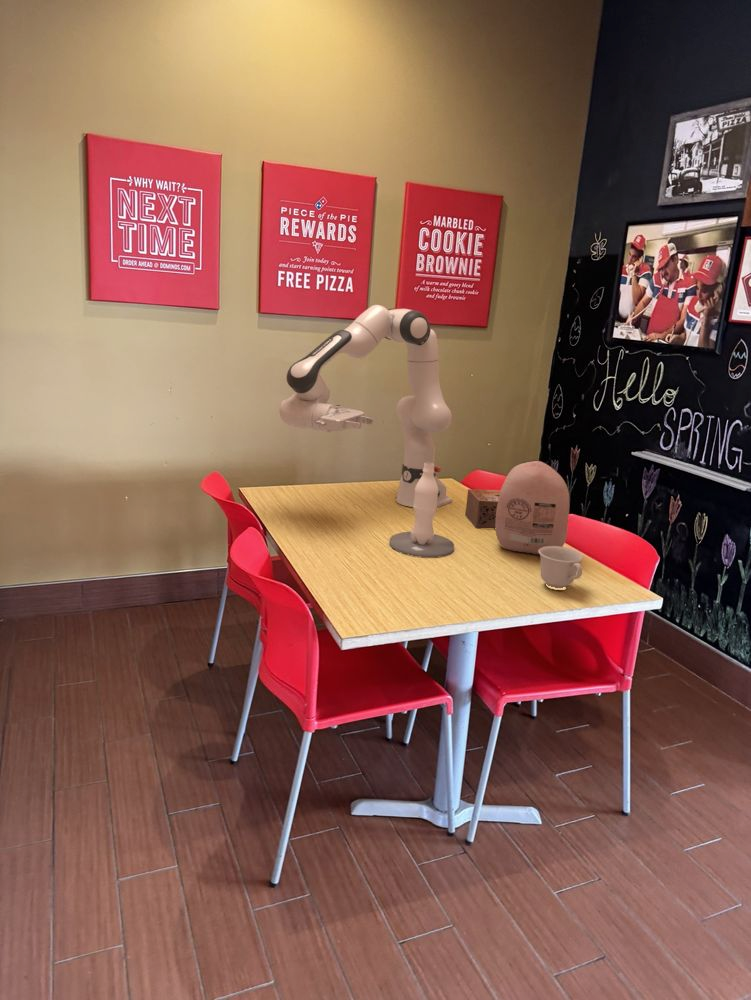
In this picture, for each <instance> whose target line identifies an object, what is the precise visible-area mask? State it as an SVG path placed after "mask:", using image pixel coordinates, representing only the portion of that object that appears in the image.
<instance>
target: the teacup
mask: <svg viewBox="0 0 751 1000" xmlns="http://www.w3.org/2000/svg"><path fill="white" fill-rule="evenodd" d="M538 552H539V553H540V555H539V556H540V557H539V558H540V568H539V569H540V570H539V571H540V577H541V579H542V581H543V582H545V584H547V585H548V586H551V587H555V588H563V587H566V588H567V587H568V586H569V585H572V583H573V582H574V581H575V580H578V579H579V578H580V577H582V575H583V567H582V565H581V561H583V560H584V555H583V554H581V552H579V551H577V550H575V549H572V548H570V547H565V546H563V547H560V546H545V547H542V548H540V549H539V550H538Z"/></svg>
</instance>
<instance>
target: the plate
mask: <svg viewBox="0 0 751 1000" xmlns="http://www.w3.org/2000/svg"><path fill="white" fill-rule="evenodd" d="M388 544H389V546H390V548H391V547H392V548H391V549H393V548H394V549H395V550H394V549H393V550H394V551H396V550H397V551H396V552H398V551H399V552H398V553H400V552H402V553H401V554H403V553H405V554H404V555H406V554H409V555H408V556H410V555H413V556H412V557H415V556H421V557H420V558H425V557H435V558H439V557H438V556H443V557H445V556H444V555H447V556H449V555H451V554H452V553H454V551H453V550H454V549H455V544H454V542H453V541H452V540H451V539H449V538H448V537H445V536H443V535H439V534H436V533H434V537H433V540H432V542H431V543H430V544H427V543H425V544H424V545H420V544H419V543H418V541H417V542H416V543H414V542H413V541H412V538H411V531H405V532H398V533H395V534H393V535H391V536H390V538H389V543H388ZM450 553H451V554H450ZM448 554H449V555H448Z"/></svg>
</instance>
